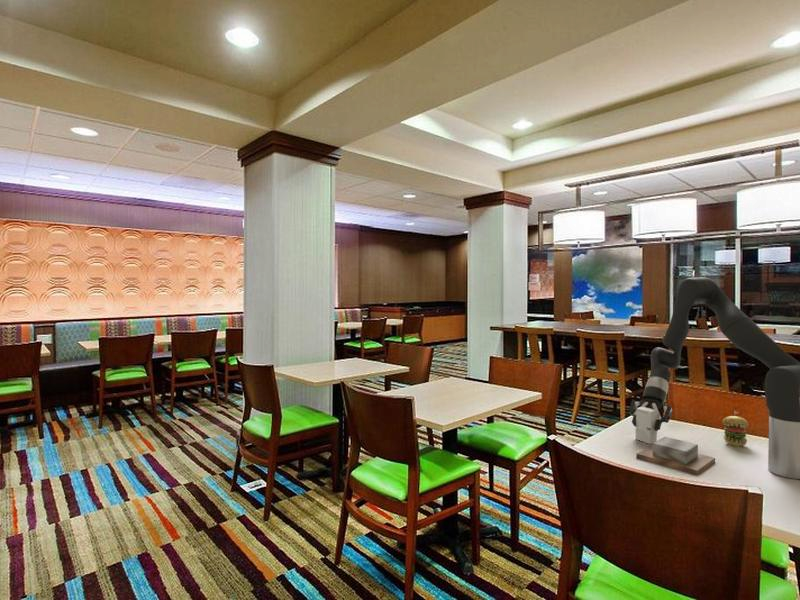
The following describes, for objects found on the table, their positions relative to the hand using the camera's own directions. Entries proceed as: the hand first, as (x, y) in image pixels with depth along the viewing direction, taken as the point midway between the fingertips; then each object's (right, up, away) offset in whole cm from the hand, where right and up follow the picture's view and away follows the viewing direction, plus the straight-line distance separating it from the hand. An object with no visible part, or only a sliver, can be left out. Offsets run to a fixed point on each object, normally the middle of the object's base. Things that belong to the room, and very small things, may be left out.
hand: (645, 427), depth 165 cm
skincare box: (+1, -6, +1) cm, 6 cm away
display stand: (0, -6, -17) cm, 18 cm away
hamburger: (+31, -6, -3) cm, 32 cm away
